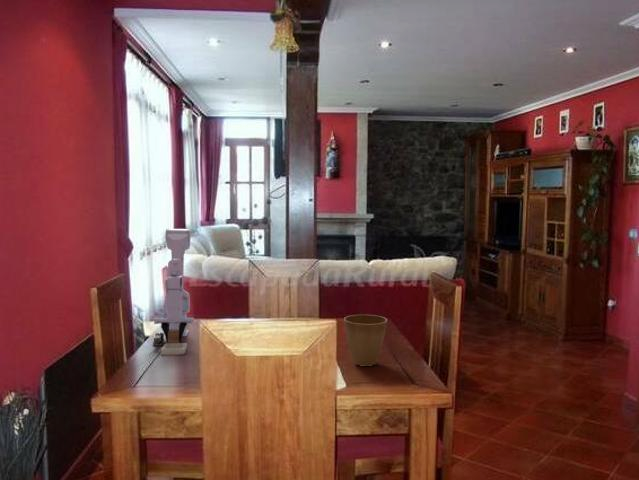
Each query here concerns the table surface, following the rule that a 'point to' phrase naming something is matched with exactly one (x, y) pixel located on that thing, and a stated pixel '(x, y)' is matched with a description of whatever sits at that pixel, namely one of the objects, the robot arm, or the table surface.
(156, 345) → the crank base
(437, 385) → the table surface
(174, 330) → the block
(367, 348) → the plant pot
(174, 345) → the tray
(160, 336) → the crank
